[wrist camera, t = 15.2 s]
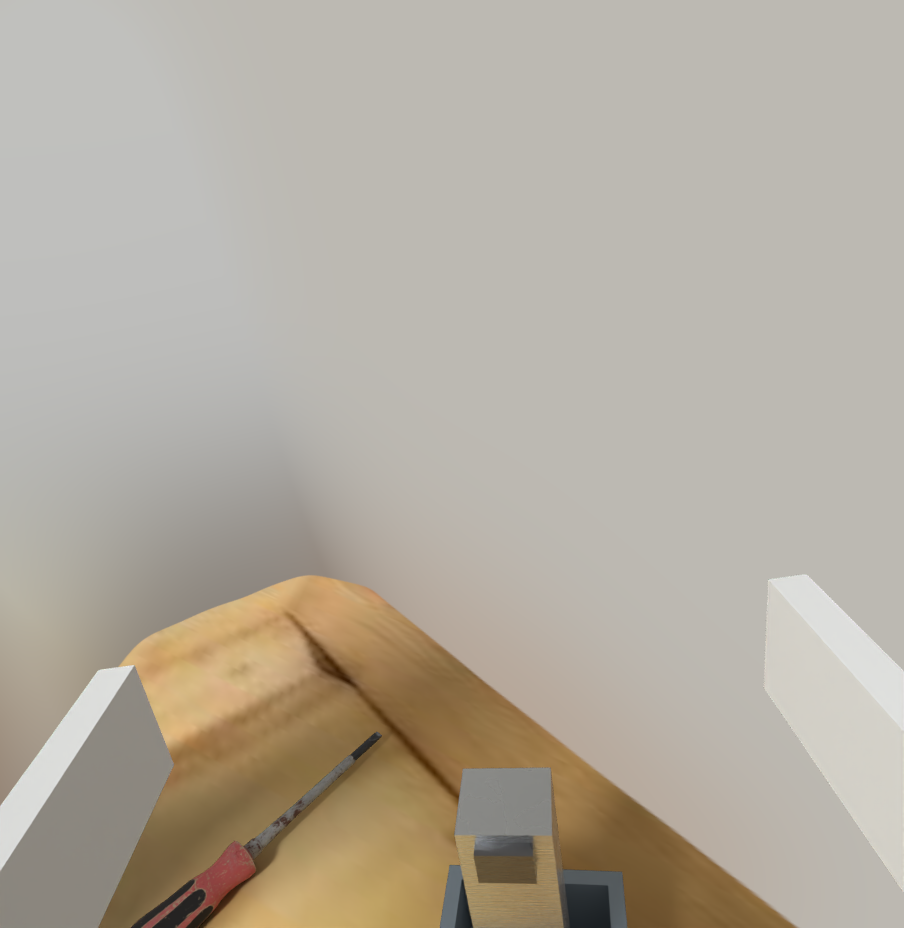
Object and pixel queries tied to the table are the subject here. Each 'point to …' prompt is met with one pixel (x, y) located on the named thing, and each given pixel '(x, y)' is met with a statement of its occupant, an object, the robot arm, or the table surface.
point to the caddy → (587, 892)
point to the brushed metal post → (511, 849)
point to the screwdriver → (233, 864)
